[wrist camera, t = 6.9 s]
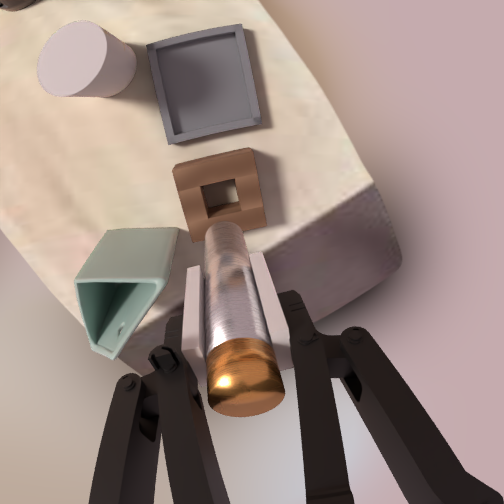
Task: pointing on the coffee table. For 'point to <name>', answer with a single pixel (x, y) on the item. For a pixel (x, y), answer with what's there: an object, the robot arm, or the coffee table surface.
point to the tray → (204, 83)
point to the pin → (236, 330)
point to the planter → (123, 283)
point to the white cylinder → (85, 62)
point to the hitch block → (215, 170)
